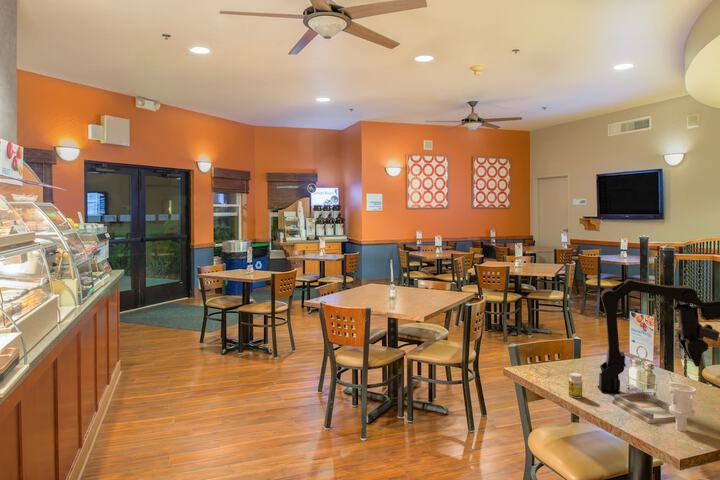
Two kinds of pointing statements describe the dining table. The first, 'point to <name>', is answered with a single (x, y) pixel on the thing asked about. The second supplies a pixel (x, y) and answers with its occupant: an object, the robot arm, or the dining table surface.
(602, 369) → the robot arm
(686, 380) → the dining table surface
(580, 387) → the supplement bottle
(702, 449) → the dining table surface
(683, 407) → the beige tall round piece
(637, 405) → the rail board
